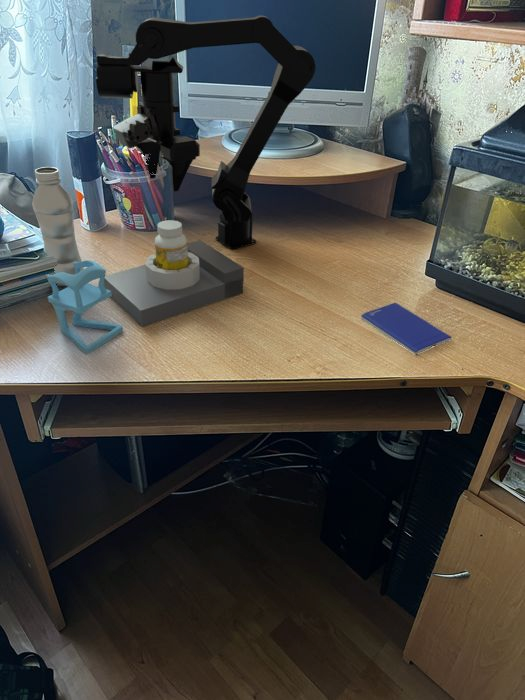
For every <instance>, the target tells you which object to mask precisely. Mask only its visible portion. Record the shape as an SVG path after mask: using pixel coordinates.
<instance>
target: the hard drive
mask: <svg viewBox="0 0 525 700" xmlns="http://www.w3.org/2000/svg"><path fill="white" fill-rule="evenodd" d="M360 320H362V321H363V322H364V323H366V322H367V323H368V324H367V323H366V324H367V325H369V326H370V325H371V326H370V327H372V326H373V327H374V328H373V327H372V328H373V329H375V328H376V329H377V331H378V330H379V331H380V333H381V332H382V333H383V335H384V334H385V335H386V336H385V335H384V336H385V337H387V336H388V337H389V338H388V337H387V338H388V339H390V338H391V339H392V340H391V339H390V340H391V341H393V340H394V341H395V343H396V342H397V343H398V344H397V343H396V344H397V345H399V344H400V345H402V346H403V347H405V348H406V349H408V350H409V351H411V352H413V353H414V354H418V353H420V352H423V351H425V350H427V349H430V348H431V347H432V346H436V345H439V344H441V343H444V342H446V341H449V340H452V336H451V335H450V334H448V333H446V332H445V331H442V330H441V329H439V328H438V327H436V326H435V325H433V324H431V323H430V322H428V321H426V320H425V319H424V318H421V317H420V316H418V315H417V314H415V313H413V312H412V311H410V310H409V309H407V308H405V307H404V306H402V305H400V304H399V303H397V302H393V303H390V304H386V305H384V306H381V307H379V308H375V309H371V310H370V311H367V312H364V313H362V314H361V317H360ZM376 329H375V330H376ZM379 331H378V332H379ZM382 333H381V334H382ZM394 341H393V342H394ZM449 342H450V341H449ZM444 344H445V343H444ZM400 345H399V346H400ZM402 346H401V347H402ZM439 346H440V345H439ZM403 347H402V348H403ZM405 348H404V349H405ZM406 349H405V350H406ZM408 350H407V351H408ZM430 350H431V349H430ZM409 351H408V352H409ZM427 351H428V350H427ZM411 352H410V353H411ZM425 352H426V351H425ZM423 353H424V352H423ZM420 354H421V353H420ZM418 355H419V354H418Z"/></svg>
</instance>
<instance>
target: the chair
mask: <svg viewBox="0 0 525 700" xmlns="http://www.w3.org/2000/svg"><path fill="white" fill-rule="evenodd" d="M73 264H74V267H75V271H76V274H75V275H71V274H67V273H64V272H60V273H56V274H54V275H49V274H48V275H47V274H46V275H45V277H46V280H47V281H48V283H49V285H50V286H51V289H52V294H50V295H48V296H47V301H48V303H50V304H51V305H52V306H53V308H54V311H55V313H56V317H57V320H58V324H59V329H60V330H59V331H60V332H61V333H63V334H64V335H65V336H67V337H68V338H69V340H71V342H72V343H73V344H75V345H76V346H77V348H79V349H80V350H81V351H82V352H84V354H90V353H91V352H94V351H95V350H96V349H98V348H100V347H101V346H103V345H104V344H105V343H107V342H109V341H110V340H112V339H113V338H115V337H116V336H118V335H119V334H121V333H122V332H123V330H124V329H123V325H122V324H118V323H115V322H107V321H100V320H99V321H98V320H93V319H86V318H82V316H83V313H85V312H87V311H88V310H90V309H91V308H92V307H94V306H95V305H97V304H100V303H101V302H103V301H104V302H105V301H106V300H107V299H109V298H111V296H112V293H111V291H110V290H107V289H105V287H104V279H105V275H106V272H107V270H106V269H105V268H104V267H103V266H102V265H101V264H99V263H98V262H96V261H95V260H91V259H89V260H82V262H73ZM82 267H84V269H83V270H82V271H81V272H80V268H82ZM97 279H99V280H98V285H93V284H91V283H90V282H92V281H94V280H97ZM54 281H58V282H61V283H63V284H65V285H66V286H65V288H63V289H62V290H59V286H58V285H56V284H55V283H54ZM66 311H71V312H74V313H73V316H72V319H71V321H72V324H73V325H74V326H78V327H83V328H91V329H101V330H106V331H107V330H109V332H107V333H105V334H104V335H102V336H101V337H99V338H97V339H95V340H94V341H93V342H91V343H90V344H86V343H85V342H84V341H83V340H82V339H81V338H80V336H79V335H78V334H77V333H76V332H75V331H74V330H73V329H72V327H70V326H69V325H68V320H67V317H66Z"/></svg>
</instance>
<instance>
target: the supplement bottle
mask: <svg viewBox="0 0 525 700" xmlns="http://www.w3.org/2000/svg"><path fill="white" fill-rule="evenodd" d="M156 225H157V233H158V235H156V236H155V238H154V249H155V253H156V260H157V268H160V269H164V270H180V269H183V268H187V267H188V250H187V243H188V239H187V237H186V235H185V234H183V224H182V222H180V221H178V220H173V219H168V220H162V221H160V222H158V223H157V224H156Z"/></svg>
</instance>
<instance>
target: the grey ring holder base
mask: <svg viewBox="0 0 525 700" xmlns="http://www.w3.org/2000/svg"><path fill="white" fill-rule="evenodd" d="M187 250H188V267H187V268H183V269H180V270H164V269H160V268H157V260H156V252H155V253H152V254H151V255H150V256H148V257H147V258H146V259H145V264H143V265H139V266H136V267H135V266H134V267H131V268H128V269H124V270H120V271H117V272H113V273H109V274H105V279H104V287H105V289H107V290H110V291H111V293H112V296H111V297H110V299H112V300H113V301H114V302H115V303H116V304H117V305H118V306H119V307H120V308H121V309H123V310H124V311H125V312H126V313H127V314H128V315H129V316H130V317H131V318H132V319H133V320H135V322H137V323H138V325H140V326H141V327H142V328H143V327H146V326H149V325H152V324H154V323H157V322H160V321H163V320H167V319H169V318H173V317H175V316H176V317H177V316H179V315H182V314H184V313H188V312H190V311H193V310H196V309H200V308H202V307H206V306H209V305H211V304H215V303H217V302H220V301H222V300H223V301H224V300H226V299H229V298H231V297H232V298H233V297H235V296H238V295H241V294H244V277H245V276H244V273H245V272H244V270H245V268H244V266H242V265H240V264H239V263H237V262H236V261H234V260H232V258H229V257H227V255H224V254H223V253H221V252H220V251H218V250H217V249H215V248H214V247H212V246H210V245H209V244H208V243H205V241H203V240H200V239H199V240H195V241H191V242H187Z"/></svg>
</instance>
